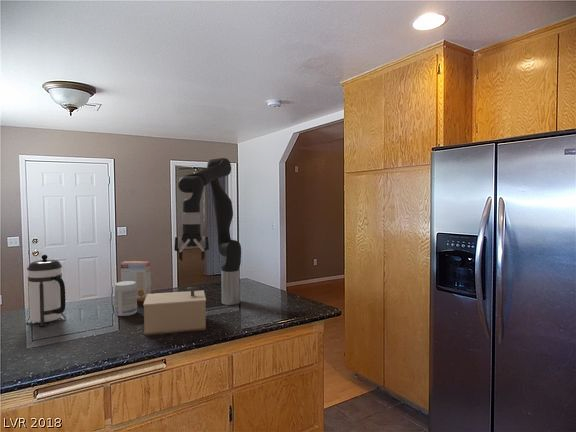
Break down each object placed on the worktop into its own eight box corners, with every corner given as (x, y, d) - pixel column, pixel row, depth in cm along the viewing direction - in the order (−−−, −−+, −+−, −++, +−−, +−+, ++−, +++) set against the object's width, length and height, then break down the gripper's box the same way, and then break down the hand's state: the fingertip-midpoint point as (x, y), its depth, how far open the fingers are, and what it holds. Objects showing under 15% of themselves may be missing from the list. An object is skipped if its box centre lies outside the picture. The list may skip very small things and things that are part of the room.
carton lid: (203, 291, 170) (203, 282, 169) (206, 301, 154) (205, 291, 154) (147, 295, 163) (146, 285, 163) (143, 305, 147) (143, 295, 147)
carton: (203, 317, 170) (203, 291, 169) (205, 329, 155) (205, 301, 154) (148, 322, 163) (147, 295, 163) (144, 335, 148) (144, 305, 147)
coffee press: (18, 330, 153) (16, 258, 152) (33, 318, 169) (31, 252, 167) (65, 326, 158) (63, 256, 156) (76, 314, 173) (74, 251, 172)
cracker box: (151, 299, 201) (151, 260, 200) (146, 302, 195) (145, 262, 194) (127, 298, 202) (126, 260, 201) (121, 301, 196) (120, 262, 195)
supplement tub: (140, 310, 180) (140, 280, 179) (131, 317, 171) (130, 285, 170) (121, 310, 181) (121, 280, 180) (111, 316, 171) (110, 285, 170)
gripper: (207, 222, 164) (208, 258, 165) (174, 222, 160) (174, 259, 161) (209, 223, 157) (209, 261, 158) (173, 223, 153) (174, 262, 154)
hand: (191, 260), depth 160 cm, fingers open, 8 cm apart
